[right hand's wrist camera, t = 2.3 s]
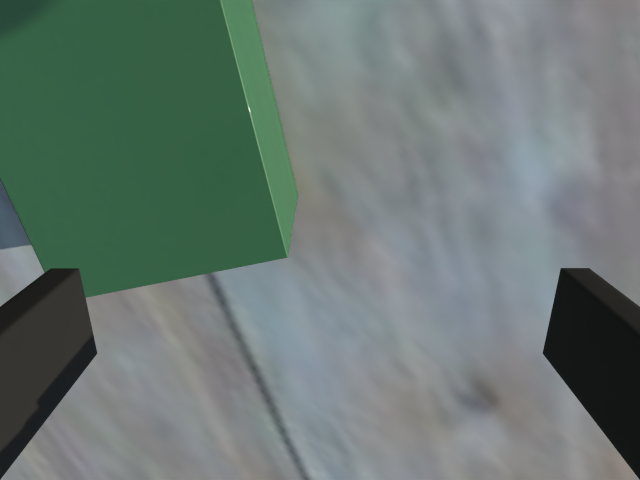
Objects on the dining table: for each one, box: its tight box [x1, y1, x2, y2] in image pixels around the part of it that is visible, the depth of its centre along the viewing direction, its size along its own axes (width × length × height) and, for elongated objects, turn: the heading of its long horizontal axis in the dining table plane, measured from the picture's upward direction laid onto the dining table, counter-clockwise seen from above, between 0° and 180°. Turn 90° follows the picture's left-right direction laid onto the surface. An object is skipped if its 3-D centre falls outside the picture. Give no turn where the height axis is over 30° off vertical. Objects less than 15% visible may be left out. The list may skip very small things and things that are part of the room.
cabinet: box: [0, 0, 298, 298], centre depth 23 cm, size 15×11×11 cm
